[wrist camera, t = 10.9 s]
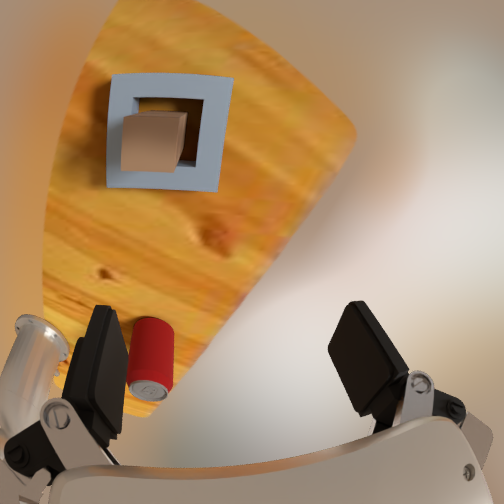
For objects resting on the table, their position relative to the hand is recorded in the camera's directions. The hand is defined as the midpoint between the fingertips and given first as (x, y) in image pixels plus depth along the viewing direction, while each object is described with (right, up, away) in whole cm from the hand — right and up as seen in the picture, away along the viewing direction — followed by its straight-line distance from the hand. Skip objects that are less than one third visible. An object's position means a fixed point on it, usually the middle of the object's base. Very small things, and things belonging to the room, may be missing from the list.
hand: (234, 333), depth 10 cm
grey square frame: (-8, +16, +16) cm, 24 cm away
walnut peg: (-8, +16, +16) cm, 24 cm away
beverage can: (-15, -9, +30) cm, 35 cm away
